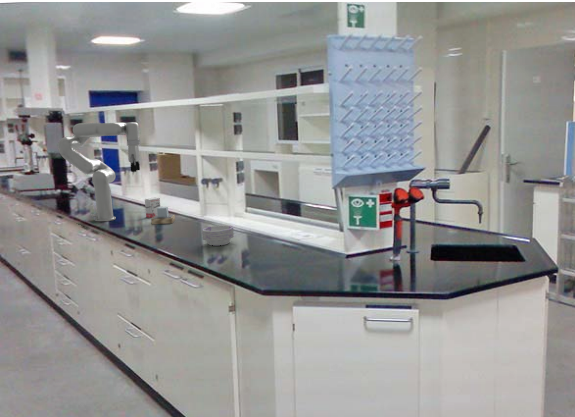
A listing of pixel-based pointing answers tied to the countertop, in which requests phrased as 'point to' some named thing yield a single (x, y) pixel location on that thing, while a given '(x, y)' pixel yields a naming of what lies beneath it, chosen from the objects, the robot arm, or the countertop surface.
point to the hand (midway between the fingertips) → (135, 171)
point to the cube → (162, 211)
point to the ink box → (152, 206)
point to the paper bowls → (218, 235)
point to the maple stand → (163, 219)
